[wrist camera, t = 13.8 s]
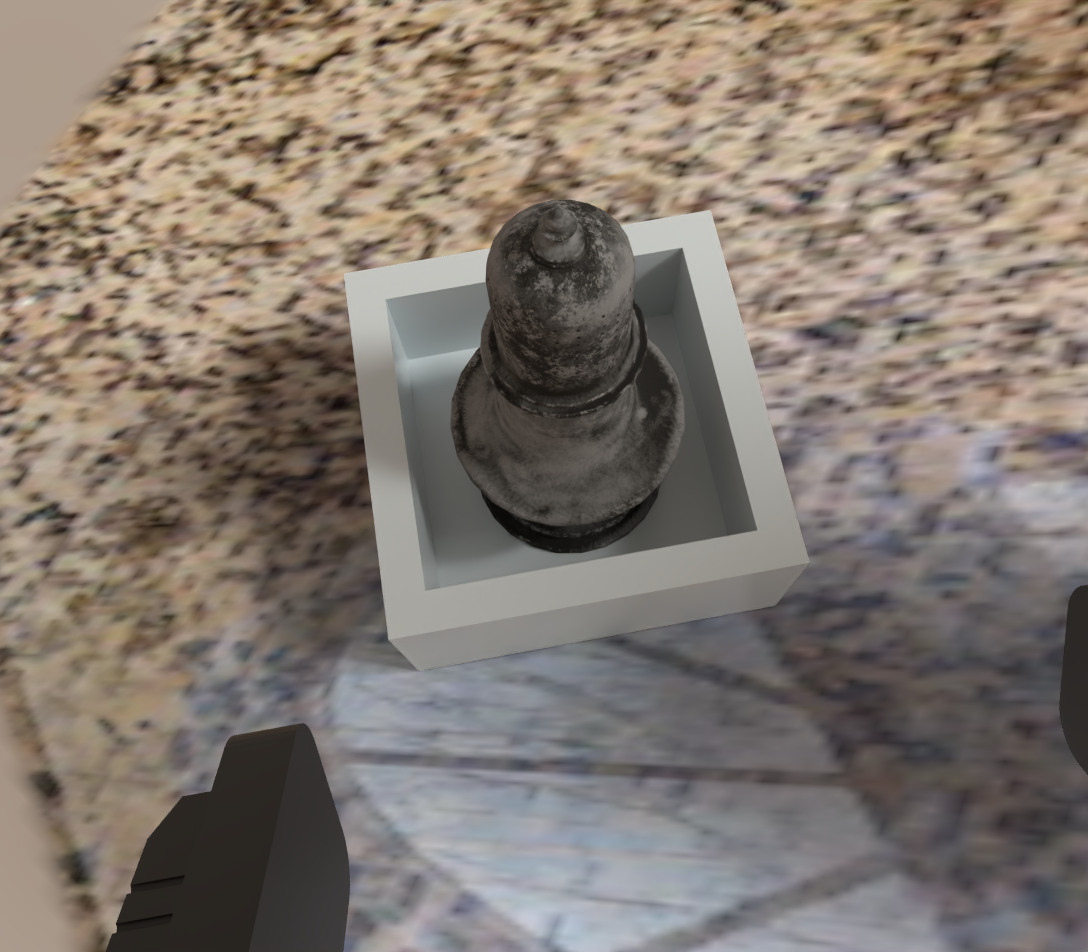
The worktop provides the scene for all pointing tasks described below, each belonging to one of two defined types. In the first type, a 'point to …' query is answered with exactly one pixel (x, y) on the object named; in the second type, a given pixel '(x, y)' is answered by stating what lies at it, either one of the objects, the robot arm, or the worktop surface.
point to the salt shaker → (566, 385)
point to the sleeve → (538, 575)
